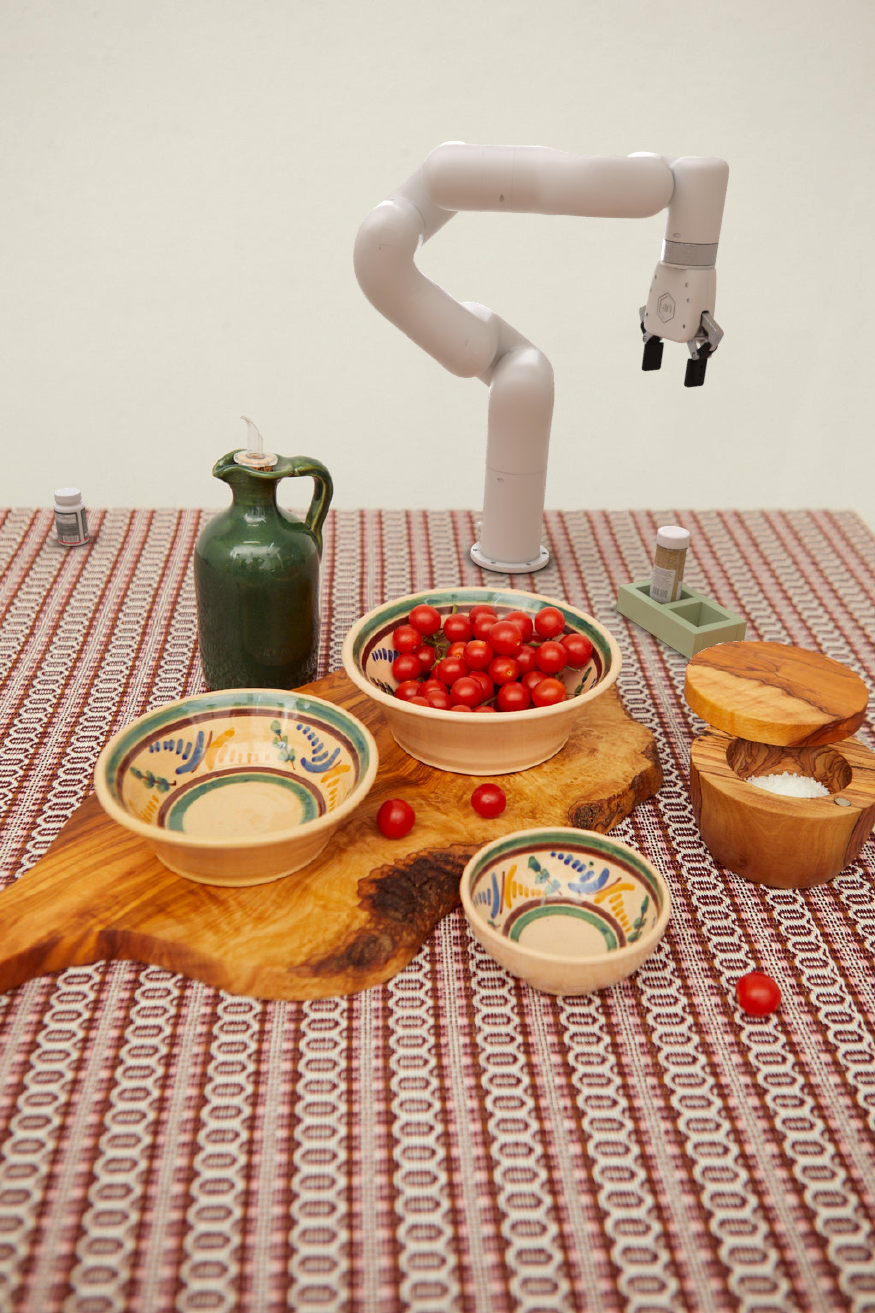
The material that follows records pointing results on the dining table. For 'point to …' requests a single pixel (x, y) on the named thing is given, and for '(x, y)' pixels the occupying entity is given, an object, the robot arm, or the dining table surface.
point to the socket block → (680, 618)
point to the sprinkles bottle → (669, 564)
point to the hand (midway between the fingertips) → (671, 377)
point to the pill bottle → (70, 517)
